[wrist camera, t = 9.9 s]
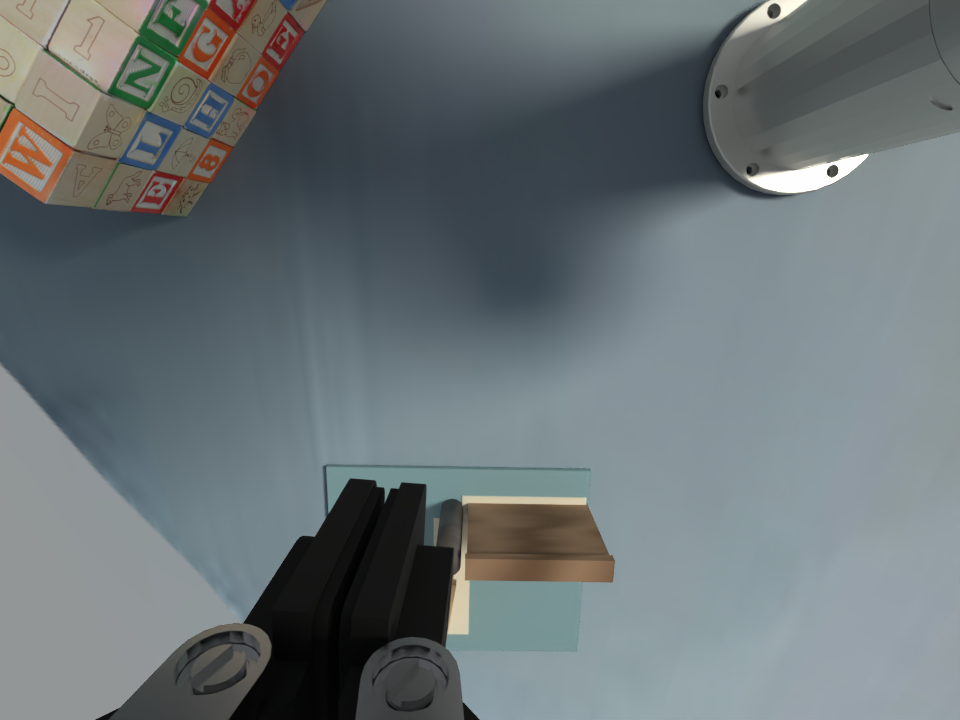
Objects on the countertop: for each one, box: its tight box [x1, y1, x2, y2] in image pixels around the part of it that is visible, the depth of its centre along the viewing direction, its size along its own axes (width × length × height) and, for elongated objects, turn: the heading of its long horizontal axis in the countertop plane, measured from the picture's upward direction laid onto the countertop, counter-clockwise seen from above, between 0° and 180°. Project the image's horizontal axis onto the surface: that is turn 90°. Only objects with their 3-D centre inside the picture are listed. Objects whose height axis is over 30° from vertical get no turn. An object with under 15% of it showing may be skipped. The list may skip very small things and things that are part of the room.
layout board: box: [326, 465, 591, 652], centre depth 41 cm, size 21×17×1 cm
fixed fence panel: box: [436, 499, 615, 582], centre depth 36 cm, size 12×2×8 cm, turn 89°
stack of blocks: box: [0, 0, 327, 217], centre depth 27 cm, size 21×6×12 cm, turn 142°
